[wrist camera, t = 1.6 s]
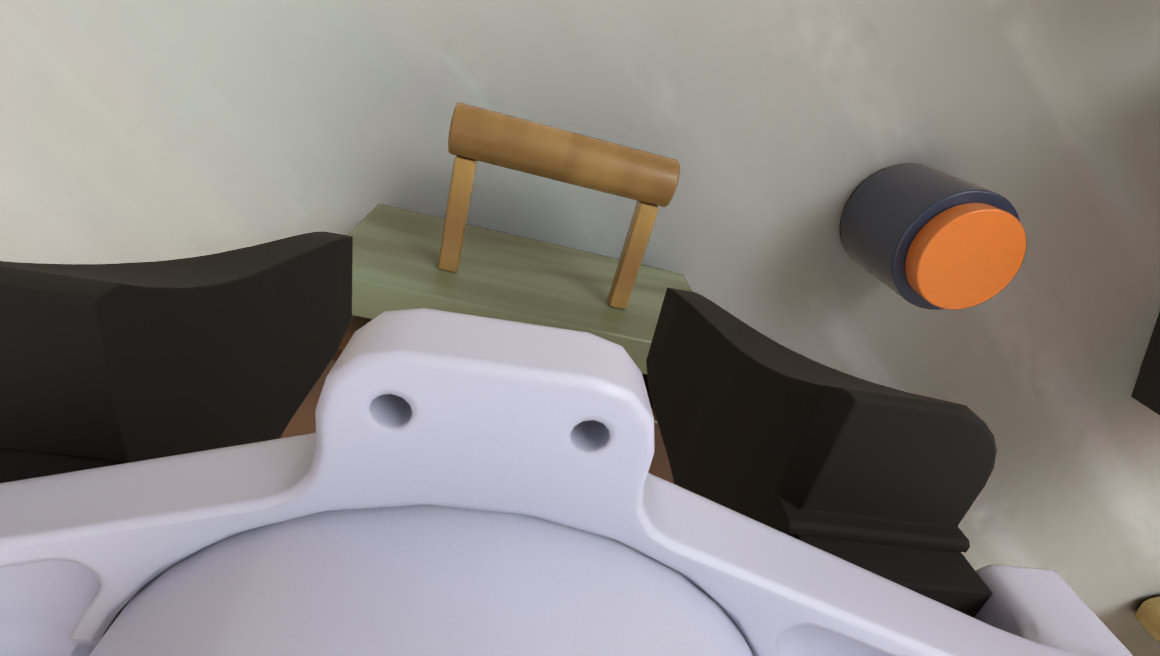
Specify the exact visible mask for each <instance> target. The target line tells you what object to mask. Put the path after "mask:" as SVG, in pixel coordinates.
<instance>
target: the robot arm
mask: <svg viewBox="0 0 1160 656" xmlns="http://www.w3.org/2000/svg"><path fill="white" fill-rule="evenodd" d="M352 260H353V236H347V235H341V234H334V233H328V232H313V233H307V234H302V235H297V236H293V237H289V238H285V239H281V240H276V241H272V242H268V243H264V244H260V245H256V246H251V247H246V248H242V249H237V250H232V251H227V252H222V253H218V254H212V255H206V256H200V257H193V258H186V259H177V260H168V261H158V262H142V263H122V264H98V265H72V264H34V263H15V262H2V261H0V656H1133V655H1132V654H1131V653H1130V652H1129V651H1128V650H1127V648H1126V647H1125V646H1124V645H1123V644H1122V643H1121V642H1120V641H1119V640H1118V639H1117V638H1116V637H1115V635H1114V634H1113V633H1112V632H1111V631H1110V630H1109V629H1108V628H1107V627H1106V626H1105V625H1104V623H1103V622H1102V621H1101V620H1100V619H1099V618H1098V617H1097V616H1096V615H1095V614H1094V613H1093V612H1092V610H1091V609H1090V608H1089V607H1088V606H1087V605H1086V604H1085V603H1084V602H1083V601H1082V600H1081V599H1080V597H1079V596H1078V595H1077V594H1076V593H1075V592H1074V591H1073V590H1072V589H1071V588H1070V587H1069V586H1068V584H1067V583H1066V582H1065V581H1064V580H1063V579H1062V578H1061V577H1060V576H1059V575H1058V574H1057V572H1056V571H1053V570H1046V569H1037V568H1027V567H1018V566H1008V565H999V564H997V565H987V566H985V567H983V568H980V569H978V570H977V571H975V570H974V569H973V568H972V566H971V565H970V564H969V562H968V561H967V560H966V559H965V557H964V556H963V555H962V553H961V552H966V551H967V550H968V549H969V547H970V544H969V540H968V539H967V537H966V536H965V535H964V534H963V533H962V531H961V530H960V529H959V528H958V524H959V523H960V521H961V520H962V518H963V517H964V515H965V514H966V513H967V511H968V510H969V508H970V507H971V505H972V504H973V502H974V501H975V499H976V498H977V496H978V495H979V493H980V492H981V490H982V489H983V488H984V486H985V484H986V482H987V480H988V478H989V476H990V474H991V472H992V471H993V468H994V463H995V458H996V452H997V450H996V445H995V439H994V435H993V434H992V432H991V431H990V430H989V428H988V427H987V425H986V424H985V422H983V421H982V420H981V419H980V418H979V417H978V416H977V415H976V414H975V413H974V412H973V411H971V410H970V409H969V408H968V407H967V406H965V405H962V404H957V403H953V402H948V401H943V400H939V399H934V398H930V397H925V396H921V395H916V394H911V393H907V392H903V391H900V390H896V389H893V388H889V387H886V386H882V385H879V384H875V383H872V382H869V381H866V380H863V379H860V378H857V377H854V376H851V375H848V374H846V373H843V372H840V371H838V370H835V369H832V368H830V367H827V366H825V365H822V364H820V363H818V362H815V361H813V360H811V359H809V358H806V357H804V356H802V355H800V354H798V353H796V352H794V351H792V350H790V349H788V348H786V347H784V346H782V345H780V344H778V343H777V342H775V341H773V340H771V339H770V338H768V337H766V336H765V335H763V334H761V333H759V332H758V331H756V330H755V329H753V328H751V327H750V326H748V325H747V324H745V323H744V322H742V321H740V320H739V319H737V318H736V317H734V316H733V315H731V314H730V313H728V312H727V311H725V310H724V309H722V308H721V307H719V306H718V305H716V304H715V303H713V302H712V301H710V300H708V299H707V298H705V297H703V296H702V295H700V294H697V293H695V292H692V291H686V290H680V289H674V288H668V287H667V290H666V293H665V297H664V300H663V304H662V307H661V311H660V314H659V318H658V321H657V325H656V328H655V332H654V335H653V339H652V342H651V346H650V349H649V353H648V356H647V360H646V365H647V376H648V384H649V392H650V397H651V400H652V404H653V408H654V411H655V415H656V419H657V422H658V425H659V429H660V432H661V436H662V439H663V443H664V446H665V449H666V453H667V456H668V460H669V463H670V467H671V472H672V476H673V481H674V484H673V483H671V482H668V481H666V480H664V479H662V478H659V477H657V476H655V475H653V474H651V473H648V471H649V468H650V465H651V462H652V459H653V455H654V452H655V449H654V417H653V413H652V410H651V406H650V402H649V398H648V394H647V391H646V387H645V383H644V379H643V375H642V372H641V371H640V369H639V368H638V367H637V365H636V364H635V363H634V361H633V360H632V359H631V357H630V356H629V355H628V353H627V352H626V351H625V349H624V348H623V347H622V346H620V345H618V344H615V343H613V342H611V341H608V340H606V339H603V338H601V337H598V336H596V335H593V334H591V333H589V332H582V331H575V330H568V329H562V328H555V327H548V326H542V325H535V324H528V323H521V322H515V321H508V320H501V319H495V318H488V317H481V316H474V315H468V314H461V313H454V312H448V311H441V310H434V309H427V308H419V309H407V310H395V311H384V312H383V313H381V314H380V315H379V316H377V317H376V318H374V319H373V320H371V321H370V322H368V323H367V324H366V325H364V326H363V327H361V328H360V329H358V330H357V331H355V333H354V334H353V336H352V338H351V339H350V341H349V342H348V344H347V345H346V347H345V349H344V350H343V352H342V353H341V355H340V356H339V358H338V360H337V361H336V363H335V364H334V366H333V367H332V369H331V371H330V372H329V374H328V375H327V377H326V380H325V383H324V386H323V389H322V392H321V395H320V398H319V401H318V404H317V407H316V410H315V417H316V433H311V434H305V435H299V436H293V437H286V438H281V436H282V434H283V432H284V430H285V429H286V427H287V425H288V424H289V422H290V421H291V419H292V417H293V416H294V414H295V413H296V411H297V410H298V409H299V407H300V406H301V404H302V403H303V401H304V400H305V398H306V397H307V395H308V394H309V392H310V391H311V390H312V388H313V387H314V385H315V384H316V382H317V381H318V379H319V378H320V376H321V375H322V373H323V372H324V370H325V369H326V367H327V366H328V364H329V363H330V361H331V360H332V358H333V357H334V355H335V354H336V352H337V351H338V349H339V346H340V344H341V342H342V340H343V338H344V336H345V333H346V331H347V329H348V326H349V324H350V322H351V319H352Z"/></svg>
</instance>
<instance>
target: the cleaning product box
mask: <svg viewBox="0 0 1160 656" xmlns="http://www.w3.org/2000/svg"><path fill="white" fill-rule="evenodd" d="M1132 397H1133V398H1134V399H1136V400H1137V401H1139V402H1140V403H1142V404H1144V405H1145V406H1147V407H1148V408H1150V409H1151V410H1153V411H1154V412H1156V413H1158V414H1159V415H1160V315H1159V318H1158V320H1157V323H1156V326H1155V329H1154V332H1153V335H1152V338H1151V341H1150V344H1149V347H1148V350H1147V353H1146V356H1145V359H1144V362H1143V365H1142V368H1141V371H1140V374H1139V377H1138V380H1137V383H1136V386H1135V389H1134V392H1133V395H1132Z"/></svg>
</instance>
